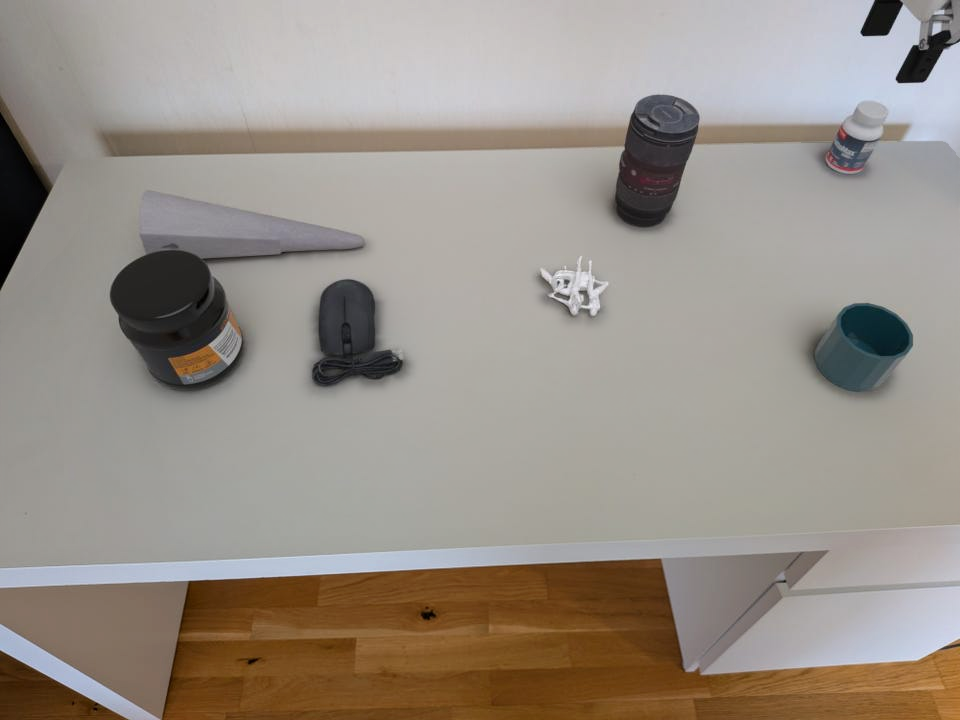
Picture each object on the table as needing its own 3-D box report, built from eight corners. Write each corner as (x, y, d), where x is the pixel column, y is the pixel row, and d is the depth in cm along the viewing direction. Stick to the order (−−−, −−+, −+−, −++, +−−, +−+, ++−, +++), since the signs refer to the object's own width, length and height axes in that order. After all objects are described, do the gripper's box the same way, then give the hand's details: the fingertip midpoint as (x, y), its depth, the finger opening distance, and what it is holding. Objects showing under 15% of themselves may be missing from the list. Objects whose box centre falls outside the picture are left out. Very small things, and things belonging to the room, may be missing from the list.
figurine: (606, 322, 80) (539, 318, 80) (602, 273, 84) (538, 269, 84) (612, 306, 77) (543, 302, 77) (607, 256, 82) (541, 252, 82)
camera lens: (643, 240, 88) (670, 141, 76) (598, 207, 92) (617, 108, 80) (684, 214, 91) (716, 115, 79) (639, 183, 95) (664, 84, 83)
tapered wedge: (361, 179, 88) (146, 176, 83) (364, 223, 83) (135, 222, 78) (362, 225, 94) (161, 225, 89) (364, 269, 89) (152, 271, 84)
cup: (870, 336, 79) (895, 302, 74) (896, 391, 74) (925, 358, 69) (805, 338, 78) (827, 303, 74) (827, 392, 74) (852, 359, 69)
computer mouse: (388, 280, 83) (384, 257, 80) (406, 374, 75) (403, 353, 72) (305, 293, 82) (298, 270, 79) (314, 391, 73) (307, 370, 70)
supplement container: (259, 370, 75) (228, 297, 65) (163, 410, 72) (115, 339, 62) (231, 307, 80) (198, 232, 71) (140, 341, 77) (93, 267, 68)
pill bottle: (816, 157, 98) (843, 102, 91) (844, 148, 100) (873, 93, 93) (842, 179, 96) (872, 124, 88) (870, 169, 97) (902, 114, 90)
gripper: (1075, -83, 57) (959, 100, 71) (975, -154, 68) (891, 18, 81) (988, -81, 57) (889, 102, 71) (901, -153, 67) (830, 19, 81)
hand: (890, 57), depth 76 cm, fingers open, 9 cm apart
